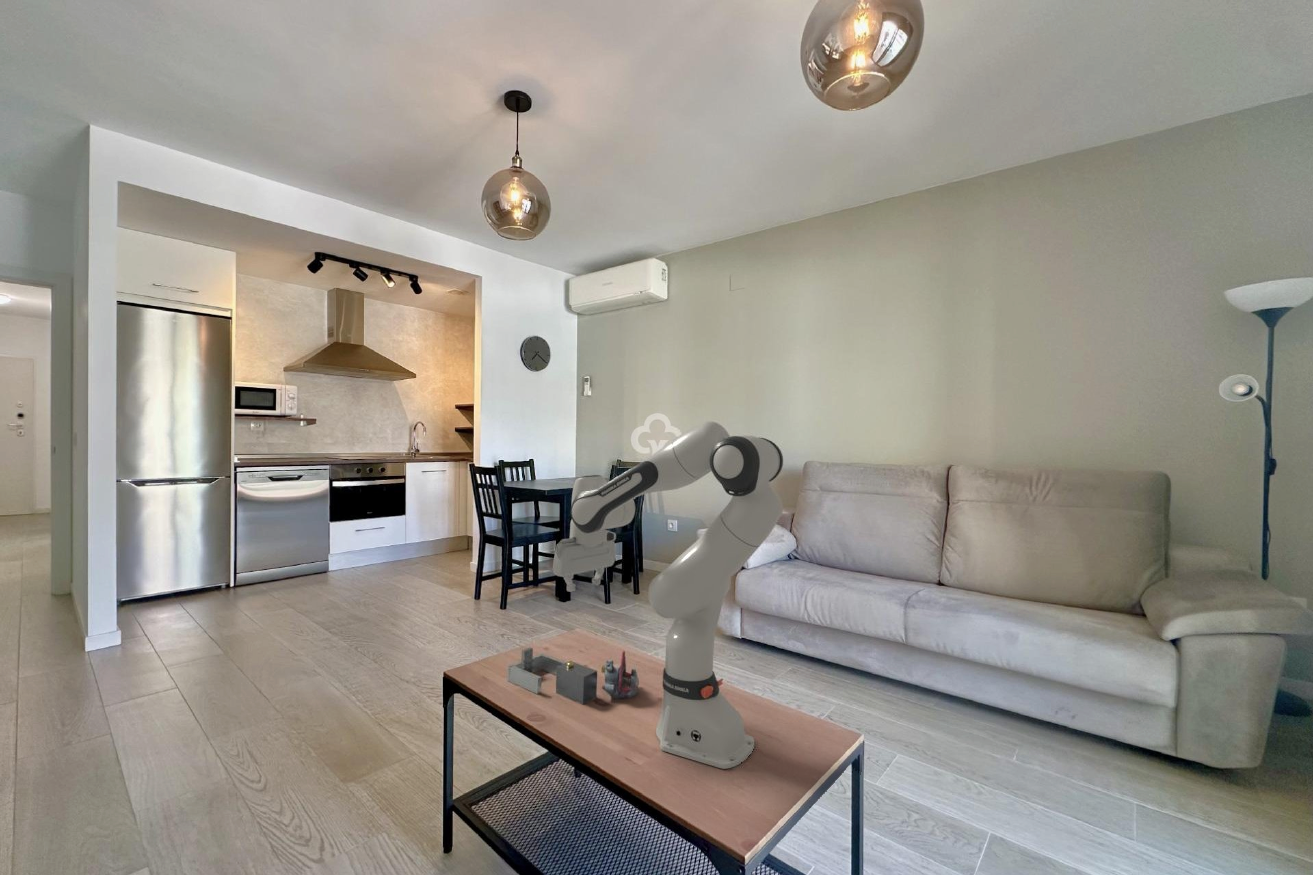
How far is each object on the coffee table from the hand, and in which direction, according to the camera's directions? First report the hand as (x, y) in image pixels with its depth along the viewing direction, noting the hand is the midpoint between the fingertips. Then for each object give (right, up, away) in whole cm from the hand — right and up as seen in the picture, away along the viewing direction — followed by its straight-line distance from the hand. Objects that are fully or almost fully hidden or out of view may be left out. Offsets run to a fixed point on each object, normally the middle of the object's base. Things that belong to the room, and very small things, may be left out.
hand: (583, 587), depth 140 cm
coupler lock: (-2, -28, -1) cm, 28 cm away
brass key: (+7, -29, +14) cm, 33 cm away
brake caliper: (+10, -29, +1) cm, 30 cm away
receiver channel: (-13, -28, +7) cm, 32 cm away
